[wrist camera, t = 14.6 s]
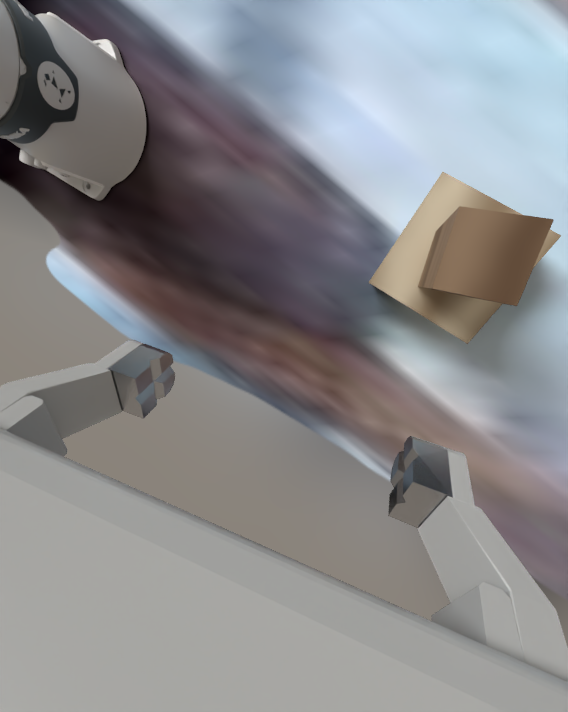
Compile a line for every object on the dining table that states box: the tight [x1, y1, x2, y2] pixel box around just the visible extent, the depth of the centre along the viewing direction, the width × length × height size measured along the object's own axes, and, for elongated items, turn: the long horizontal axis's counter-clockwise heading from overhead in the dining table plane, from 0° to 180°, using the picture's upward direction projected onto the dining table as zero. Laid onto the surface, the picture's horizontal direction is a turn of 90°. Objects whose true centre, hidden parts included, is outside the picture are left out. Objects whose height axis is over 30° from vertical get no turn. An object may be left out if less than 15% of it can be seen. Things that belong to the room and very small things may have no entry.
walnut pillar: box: [418, 206, 553, 306], centre depth 23 cm, size 5×5×10 cm
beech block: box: [369, 172, 561, 344], centre depth 31 cm, size 11×11×6 cm
